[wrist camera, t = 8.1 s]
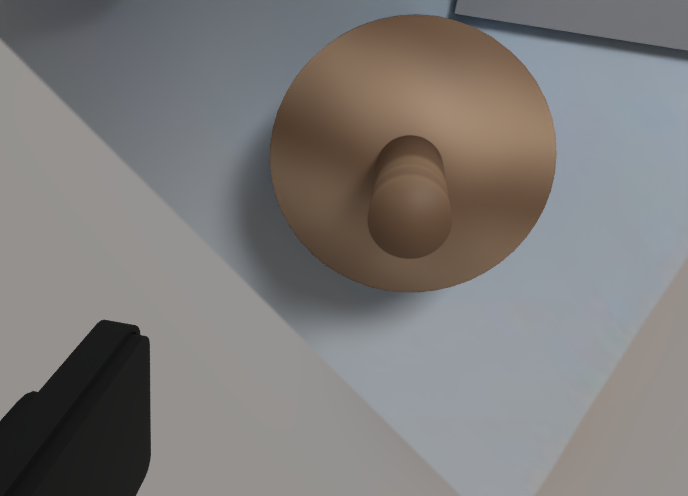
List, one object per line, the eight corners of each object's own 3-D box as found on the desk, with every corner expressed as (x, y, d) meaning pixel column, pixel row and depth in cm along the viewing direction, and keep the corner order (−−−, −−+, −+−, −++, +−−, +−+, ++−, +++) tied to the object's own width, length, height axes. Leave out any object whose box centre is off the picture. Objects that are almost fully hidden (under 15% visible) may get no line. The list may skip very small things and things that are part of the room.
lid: (287, -7, 24) (244, 0, 18) (588, 39, 23) (654, 63, 17) (264, 259, 29) (223, 339, 23) (510, 301, 29) (539, 394, 22)
